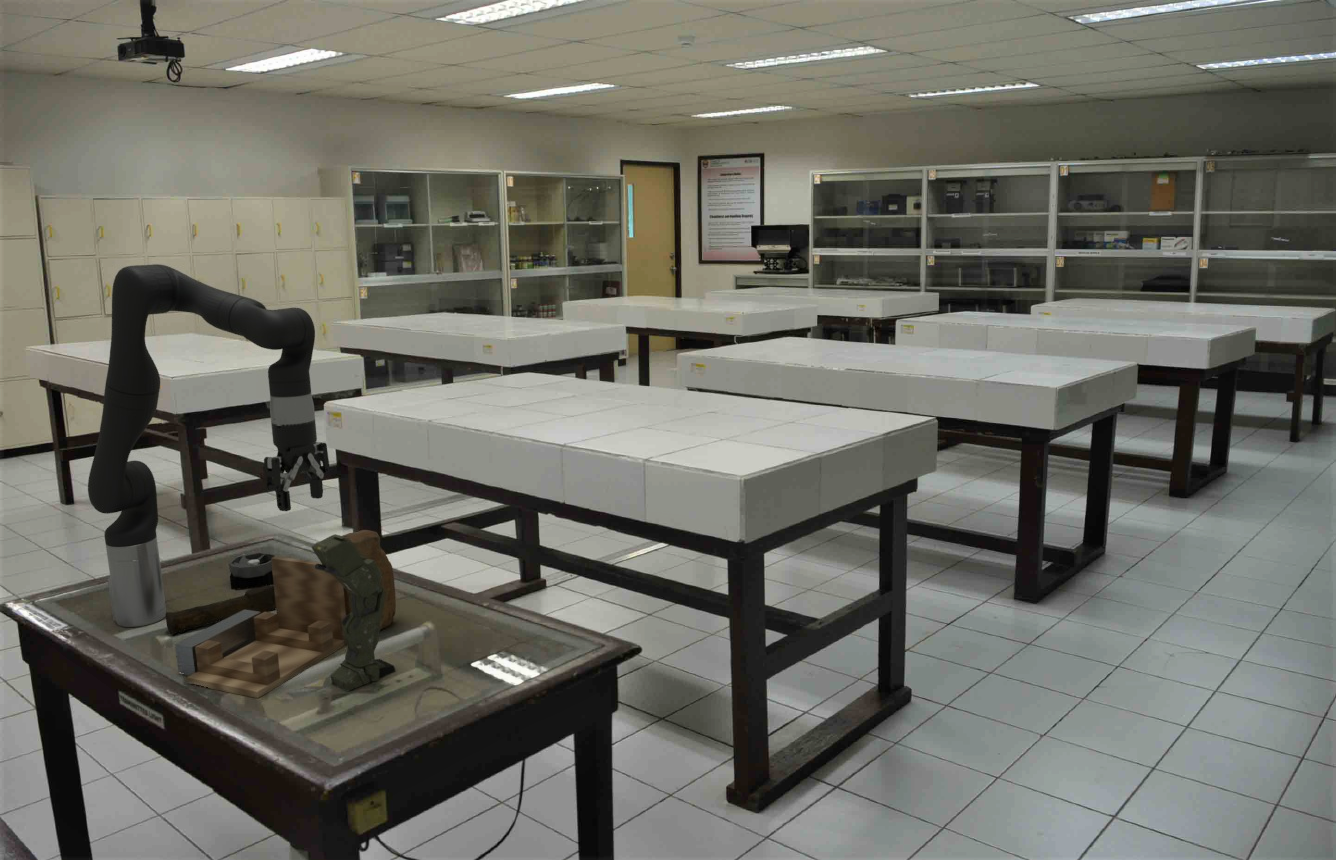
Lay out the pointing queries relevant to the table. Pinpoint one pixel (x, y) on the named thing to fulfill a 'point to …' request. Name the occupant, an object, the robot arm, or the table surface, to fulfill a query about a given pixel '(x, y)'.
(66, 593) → the table surface
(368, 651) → the mechanical leg
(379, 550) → the brown rounded piece
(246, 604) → the dark brown bar
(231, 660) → the post cradle
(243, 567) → the cpu cooler
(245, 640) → the rail
